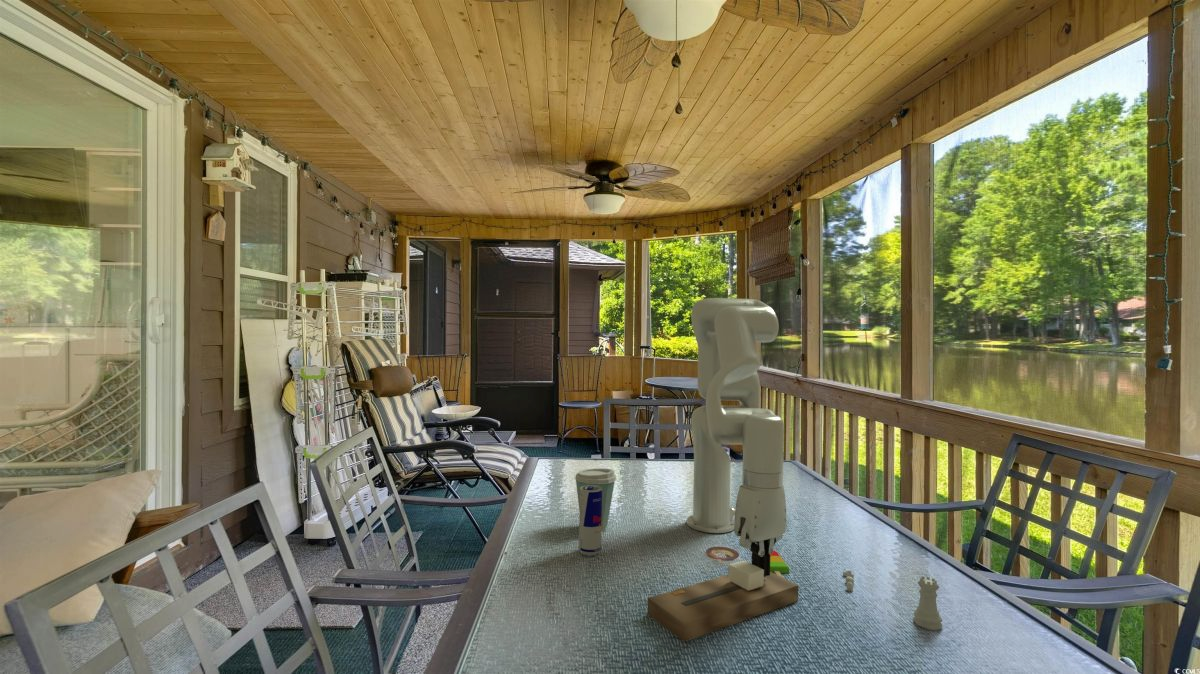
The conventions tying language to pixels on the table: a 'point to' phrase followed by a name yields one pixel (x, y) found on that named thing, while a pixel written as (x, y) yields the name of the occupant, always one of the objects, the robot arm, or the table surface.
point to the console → (718, 604)
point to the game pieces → (849, 580)
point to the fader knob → (746, 575)
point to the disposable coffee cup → (604, 480)
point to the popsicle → (777, 564)
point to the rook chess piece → (927, 605)
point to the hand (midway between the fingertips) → (760, 573)
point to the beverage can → (590, 519)
